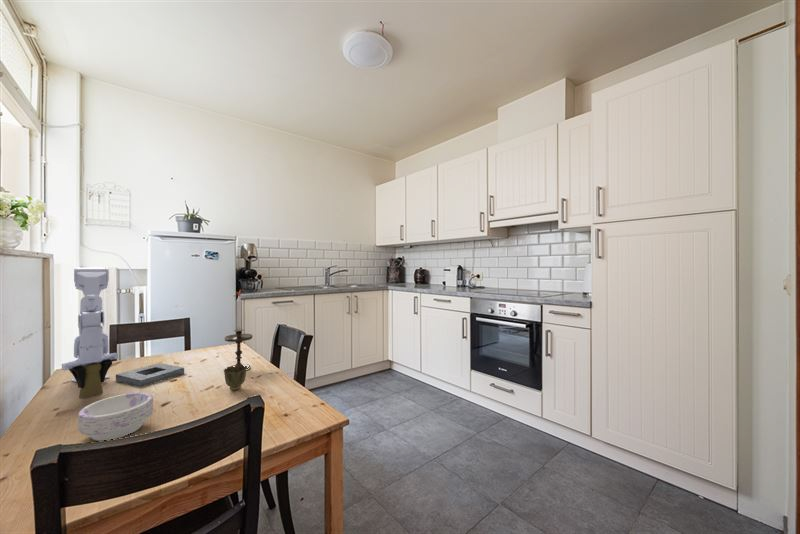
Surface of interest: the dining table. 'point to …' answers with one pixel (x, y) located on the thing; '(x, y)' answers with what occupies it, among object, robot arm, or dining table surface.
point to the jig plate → (149, 374)
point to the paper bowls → (115, 416)
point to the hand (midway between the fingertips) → (91, 384)
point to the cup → (235, 376)
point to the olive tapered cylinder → (91, 381)
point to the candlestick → (238, 333)
